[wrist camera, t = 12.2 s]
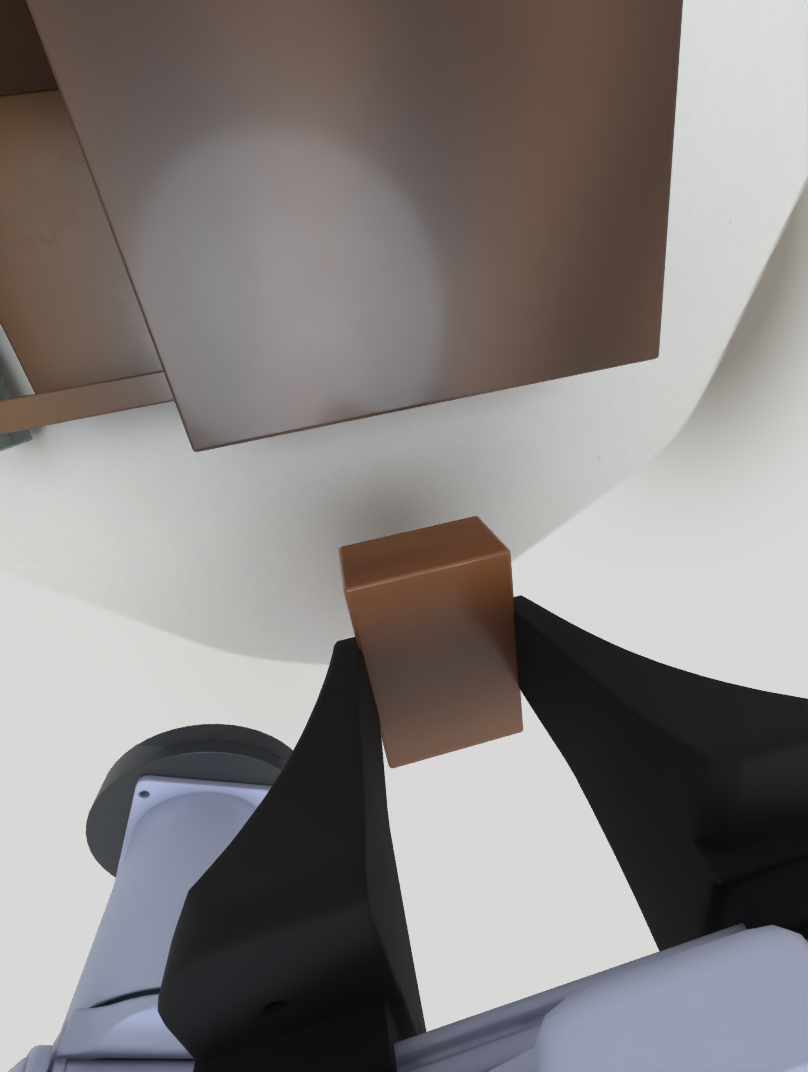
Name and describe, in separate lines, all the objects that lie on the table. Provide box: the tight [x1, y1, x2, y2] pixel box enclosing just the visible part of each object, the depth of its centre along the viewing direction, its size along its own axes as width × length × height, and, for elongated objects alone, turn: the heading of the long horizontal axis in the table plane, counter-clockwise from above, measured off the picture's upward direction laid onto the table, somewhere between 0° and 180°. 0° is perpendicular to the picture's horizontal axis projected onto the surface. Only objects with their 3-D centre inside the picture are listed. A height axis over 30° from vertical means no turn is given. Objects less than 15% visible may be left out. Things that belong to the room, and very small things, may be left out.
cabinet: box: [26, 0, 683, 452], centre depth 13 cm, size 14×12×7 cm
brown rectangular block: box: [339, 516, 523, 768], centre depth 13 cm, size 6×4×2 cm, turn 9°
